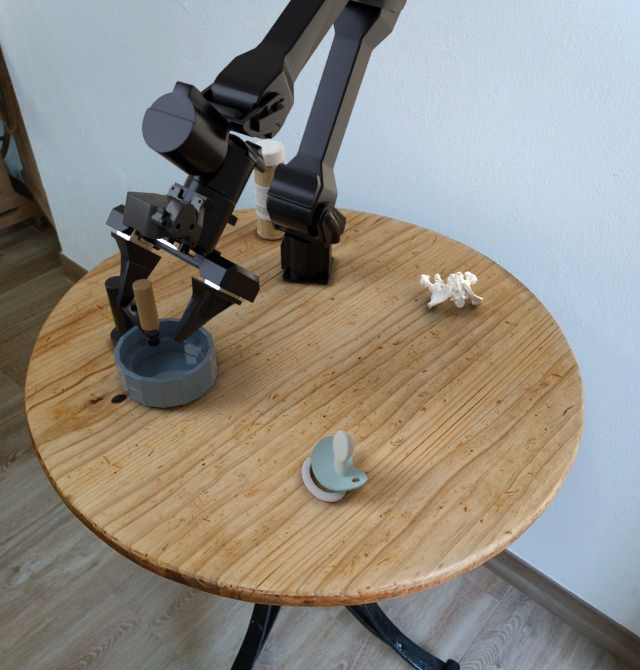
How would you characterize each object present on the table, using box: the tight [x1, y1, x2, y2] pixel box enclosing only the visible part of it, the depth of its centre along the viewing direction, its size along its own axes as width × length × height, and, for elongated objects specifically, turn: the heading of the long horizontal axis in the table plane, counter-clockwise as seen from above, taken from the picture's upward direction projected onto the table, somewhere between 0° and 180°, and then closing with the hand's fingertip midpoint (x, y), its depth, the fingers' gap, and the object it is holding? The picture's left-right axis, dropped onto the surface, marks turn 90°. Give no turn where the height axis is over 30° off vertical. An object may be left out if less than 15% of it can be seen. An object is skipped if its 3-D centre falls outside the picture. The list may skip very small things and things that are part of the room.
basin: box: [113, 317, 218, 409], centre depth 80 cm, size 11×11×4 cm
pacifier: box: [301, 430, 368, 503], centre depth 70 cm, size 7×6×6 cm
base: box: [109, 327, 120, 348], centre depth 86 cm, size 4×4×1 cm
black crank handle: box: [104, 275, 160, 347], centre depth 79 cm, size 11×3×12 cm, turn 35°
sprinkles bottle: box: [253, 139, 286, 241], centre depth 99 cm, size 5×5×13 cm
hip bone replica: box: [419, 271, 484, 309], centre depth 92 cm, size 8×4×7 cm
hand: (148, 323), depth 75 cm, fingers open, 9 cm apart
